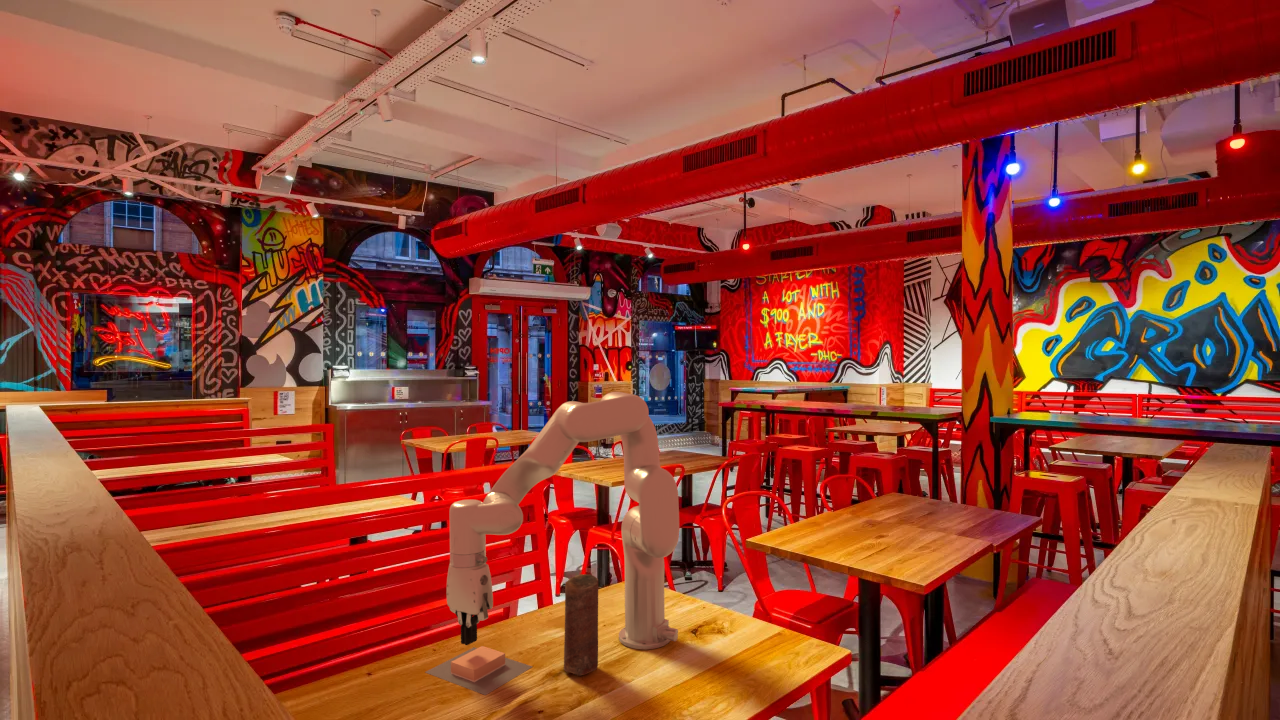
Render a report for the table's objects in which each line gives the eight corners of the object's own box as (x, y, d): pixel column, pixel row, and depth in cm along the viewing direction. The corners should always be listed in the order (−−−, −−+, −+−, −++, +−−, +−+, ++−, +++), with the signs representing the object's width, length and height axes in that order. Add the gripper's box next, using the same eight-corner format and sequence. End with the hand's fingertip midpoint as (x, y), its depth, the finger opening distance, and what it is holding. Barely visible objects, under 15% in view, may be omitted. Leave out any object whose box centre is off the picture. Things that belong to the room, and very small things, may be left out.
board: (532, 671, 144) (532, 666, 144) (485, 700, 133) (485, 695, 133) (474, 651, 154) (473, 647, 154) (424, 676, 142) (424, 672, 142)
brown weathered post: (605, 669, 145) (604, 577, 145) (584, 683, 139) (583, 587, 139) (578, 660, 149) (577, 571, 149) (556, 673, 143) (555, 580, 143)
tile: (482, 657, 149) (505, 664, 145) (451, 673, 142) (474, 682, 138) (482, 645, 149) (505, 653, 145) (450, 661, 142) (474, 670, 138)
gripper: (505, 559, 144) (506, 643, 144) (457, 548, 152) (458, 628, 152) (479, 569, 138) (480, 657, 138) (430, 557, 146) (432, 641, 146)
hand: (469, 642), depth 145 cm, fingers closed
